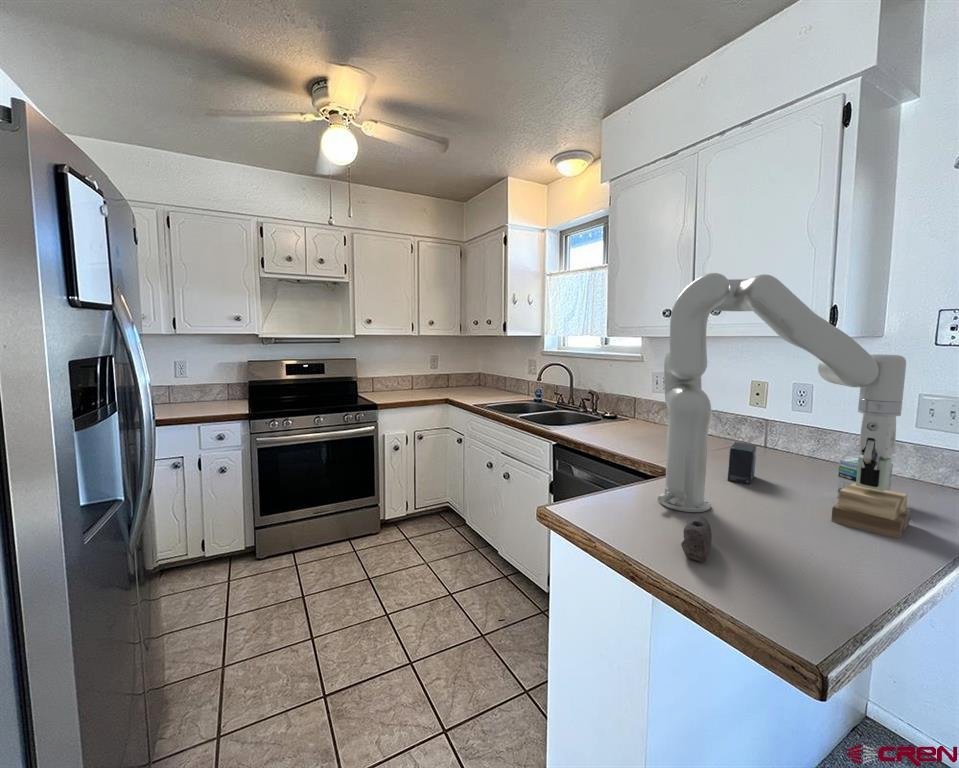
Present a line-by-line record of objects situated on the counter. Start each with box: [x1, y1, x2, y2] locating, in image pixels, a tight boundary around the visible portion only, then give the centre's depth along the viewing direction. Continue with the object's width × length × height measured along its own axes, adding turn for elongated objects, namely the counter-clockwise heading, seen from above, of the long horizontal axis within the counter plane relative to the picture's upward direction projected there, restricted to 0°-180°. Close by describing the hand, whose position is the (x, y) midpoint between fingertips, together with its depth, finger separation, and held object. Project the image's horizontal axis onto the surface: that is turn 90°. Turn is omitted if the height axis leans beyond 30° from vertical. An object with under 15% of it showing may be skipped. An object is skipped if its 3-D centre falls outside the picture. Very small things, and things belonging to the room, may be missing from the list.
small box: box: [727, 441, 757, 485], centre depth 138 cm, size 11×6×10 cm, turn 143°
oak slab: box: [838, 483, 908, 520], centre depth 105 cm, size 10×10×4 cm
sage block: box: [856, 454, 893, 491], centre depth 105 cm, size 5×5×7 cm
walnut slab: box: [830, 501, 911, 540], centre depth 106 cm, size 12×12×4 cm
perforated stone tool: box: [680, 515, 713, 563], centre depth 92 cm, size 15×5×7 cm, turn 147°
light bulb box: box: [836, 457, 894, 498], centre depth 121 cm, size 11×7×11 cm, turn 105°
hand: (872, 482), depth 105 cm, fingers closed on sage block, 4 cm apart
